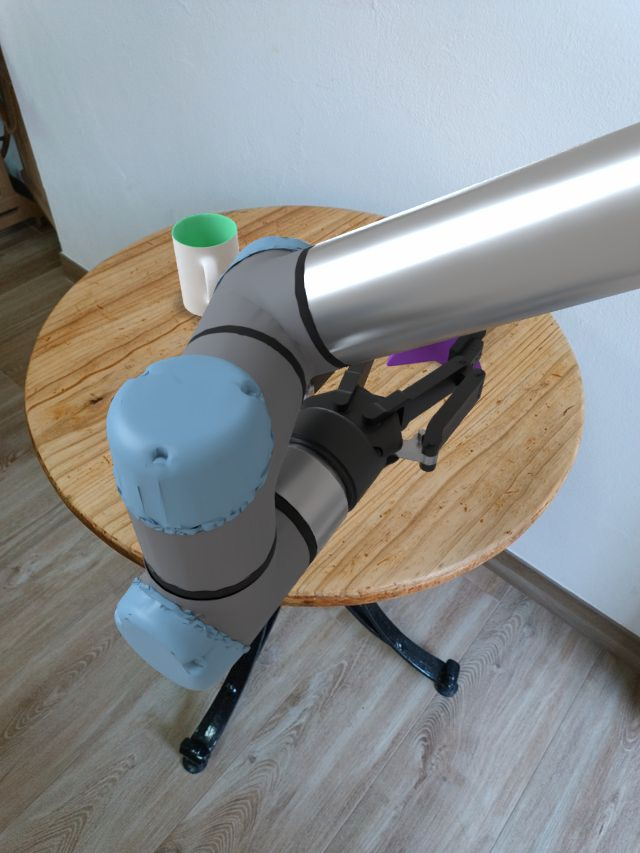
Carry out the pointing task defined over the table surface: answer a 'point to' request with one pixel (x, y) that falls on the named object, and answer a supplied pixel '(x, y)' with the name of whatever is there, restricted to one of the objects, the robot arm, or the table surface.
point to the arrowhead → (425, 354)
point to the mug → (203, 256)
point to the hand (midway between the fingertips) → (451, 310)
